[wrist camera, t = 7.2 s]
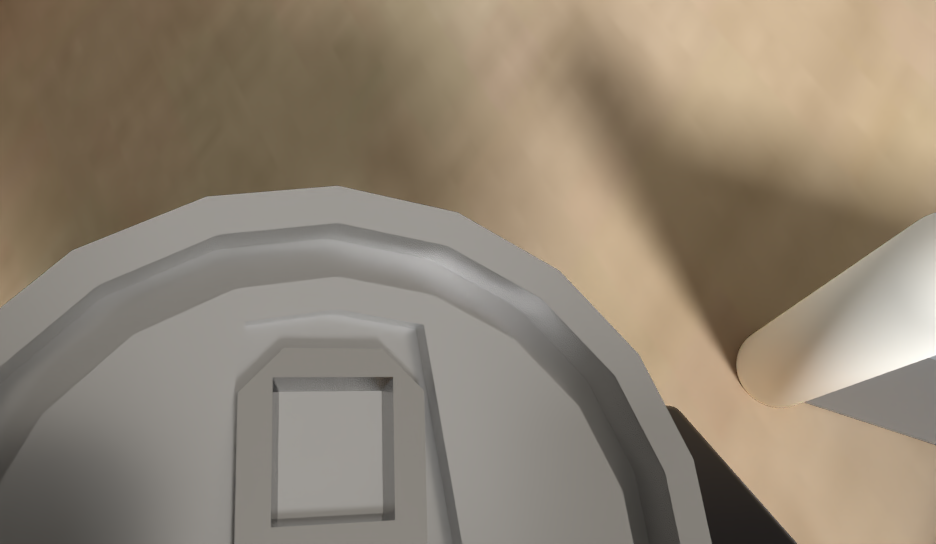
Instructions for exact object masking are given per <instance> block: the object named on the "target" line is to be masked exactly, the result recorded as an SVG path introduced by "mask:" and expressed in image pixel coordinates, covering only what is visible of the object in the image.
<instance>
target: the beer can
mask: <svg viewBox="0 0 936 544" xmlns="http://www.w3.org/2000/svg"><path fill="white" fill-rule="evenodd" d="M0 544H712V542H711V537H710V533H709V528H708V524H707V519H706V514H705V510H704V505H703V501H702V496H701V491H700V487H699V482H698V478H697V473H696V468H695V464H694V459H693V458H692V456H691V454H690V452H689V450H688V448H687V446H686V444H685V442H684V440H683V438H682V436H681V434H680V433H679V431H678V429H677V427H676V425H675V423H674V421H673V419H672V417H671V415H670V413H669V411H668V409H667V408H666V406H665V404H664V402H663V400H662V398H661V396H660V394H659V392H658V390H657V388H656V386H655V384H654V383H653V381H652V379H651V377H650V375H649V373H648V371H647V369H646V367H645V365H644V363H643V361H642V359H641V358H640V356H639V354H638V353H637V352H636V351H635V350H634V349H633V348H632V347H631V346H630V345H629V344H628V343H627V342H626V340H625V339H624V338H623V337H622V336H621V335H620V334H619V333H618V332H617V331H616V330H615V329H614V328H613V327H612V326H611V325H610V324H609V323H608V321H607V320H606V319H605V318H604V317H603V316H602V315H601V314H600V313H599V312H598V311H597V310H596V309H595V308H594V307H593V306H592V305H591V304H590V302H589V301H588V300H587V299H586V298H585V297H584V296H583V295H582V294H581V293H580V292H579V291H578V290H577V289H576V288H575V287H574V286H573V285H572V284H571V282H570V281H569V280H568V279H567V278H566V277H565V276H564V275H563V274H562V273H561V272H560V271H559V270H557V269H556V268H554V267H552V266H550V265H549V264H547V263H545V262H543V261H542V260H540V259H538V258H536V257H535V256H533V255H531V254H529V253H528V252H526V251H524V250H522V249H521V248H519V247H517V246H515V245H514V244H512V243H510V242H508V241H507V240H505V239H503V238H501V237H500V236H498V235H496V234H494V233H493V232H491V231H489V230H487V229H486V228H484V227H482V226H480V225H479V224H477V223H475V222H473V221H472V220H470V219H468V218H466V217H465V216H463V215H461V214H459V213H458V212H453V211H449V210H445V209H440V208H436V207H431V206H427V205H422V204H418V203H413V202H409V201H404V200H400V199H395V198H391V197H386V196H382V195H377V194H373V193H368V192H364V191H359V190H355V189H350V188H346V187H341V186H329V187H316V188H304V189H292V190H280V191H268V192H256V193H244V194H231V195H219V196H207V197H204V198H202V199H199V200H197V201H194V202H192V203H189V204H187V205H184V206H182V207H179V208H177V209H174V210H172V211H169V212H167V213H164V214H162V215H159V216H157V217H154V218H152V219H149V220H147V221H144V222H142V223H139V224H137V225H134V226H132V227H129V228H127V229H124V230H122V231H119V232H117V233H114V234H112V235H109V236H107V237H104V238H102V239H99V240H97V241H94V242H92V243H89V244H87V245H84V246H82V247H79V248H77V249H74V250H72V251H71V252H69V253H68V254H67V255H66V256H64V257H63V258H62V259H61V260H59V261H58V262H57V263H56V264H54V265H53V266H52V267H51V268H49V269H48V270H47V271H46V272H44V273H43V274H42V275H41V276H39V277H38V278H37V279H36V280H34V281H33V282H32V283H31V284H29V285H28V286H27V287H26V288H24V289H23V290H22V291H21V292H19V293H18V294H17V295H16V296H15V297H13V298H12V299H11V300H10V301H8V302H7V303H6V304H5V305H3V306H2V307H1V308H0Z"/></svg>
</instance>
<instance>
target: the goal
mask: <svg viewBox="0 0 936 544" xmlns="http://www.w3.org/2000/svg"><path fill="white" fill-rule="evenodd" d="M736 368H737V374H738V377H739V380H740V382H741V384H742V386H743V388H744V389H745V390H746V392H747V393H748V394H749V395H750V396H751V397H752V398H754V399H755V400H756V401H758V402H760V403H762V404H764V405H766V406H770V407H775V408H787V407H791V406H795V405H797V404H800V403H803V402H805V403H808V404H811V405H814V406H817V407H821V408H824V409H827V410H830V411H833V412H836V413H839V414H842V415H845V416H848V417H851V418H854V419H857V420H860V421H864V422H867V423H870V424H873V425H876V426H879V427H882V428H885V429H888V430H891V431H894V432H897V433H900V434H904V435H907V436H910V437H913V438H916V439H919V440H922V441H925V442H928V443H931V444H934V445H936V213H932V214H930V215H927V216H925V217H923V218H921V219H920V220H918V221H916V222H915V223H914V224H912V225H911V226H909V227H908V228H906V229H905V230H903V231H902V232H900V233H899V234H898V235H896V236H895V237H893V238H892V239H890V240H889V241H887V242H886V243H884V244H883V245H881V246H880V247H879V248H877V249H876V250H874V251H873V252H871V253H870V254H868V255H867V256H865V257H864V258H863V259H861V260H860V261H858V262H857V263H855V264H854V265H852V266H851V267H849V268H848V269H847V270H845V271H844V272H842V273H841V274H839V275H838V276H836V277H835V278H833V279H832V280H830V281H829V282H828V283H826V284H825V285H823V286H822V287H820V288H819V289H817V290H816V291H814V292H813V293H812V294H810V295H809V296H807V297H806V298H804V299H803V300H801V301H800V302H798V303H797V304H796V305H794V306H793V307H791V308H790V309H788V310H787V311H785V312H784V313H782V314H781V315H779V316H778V317H777V318H775V319H774V320H772V321H771V322H769V323H768V324H766V325H765V326H763V327H762V328H761V329H759V330H758V331H756V332H755V333H753V334H752V335H750V336H749V337H748V338H747V339H746V340H745V341H744V342H743V344H742V345H741V347H740V349H739V352H738V355H737V360H736Z"/></svg>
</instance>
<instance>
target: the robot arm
mask: <svg viewBox="0 0 936 544" xmlns="http://www.w3.org/2000/svg"><path fill="white" fill-rule="evenodd" d="M666 408H667V409H668V411H669V413H670V415H671V417H672V419H673V421H674V423H675V425H676V427H677V429H678V431H679V433H680V434H681V436H682V438H683V440H684V442H685V444H686V446H687V448H688V450H689V452H690V454H691V456H692V458H693V459H694V464H695V468H696V473H697V478H698V482H699V487H700V491H701V496H702V501H703V505H704V510H705V514H706V519H707V524H708V528H709V533H710V537H711V542H712V544H797V543H796V542H795V541H794V540H793V538H792V537H791V536H790V535H789V534H788V533H787V532H786V530H785V529H784V528H783V527H782V526H781V525H780V524H779V523H778V521H777V520H776V519H775V518H774V517H773V516H772V515H771V514H770V512H769V511H768V510H767V509H766V508H765V507H764V506H763V504H762V503H761V502H760V501H759V500H758V499H757V498H756V497H755V495H754V494H753V493H752V492H751V491H750V490H749V489H748V488H747V486H746V485H745V484H744V483H743V482H742V481H741V480H740V478H739V477H738V476H737V475H736V474H735V473H734V472H733V471H732V469H731V468H730V467H729V466H728V465H727V464H726V463H725V461H724V460H723V459H722V458H721V457H720V456H719V455H718V454H717V452H716V451H715V450H714V449H713V448H712V447H711V446H710V445H709V443H708V442H707V441H706V440H705V439H704V438H703V437H702V435H701V434H700V433H699V432H698V431H697V430H696V429H695V428H694V426H693V425H692V424H691V423H690V422H689V421H688V420H687V419H686V417H685V416H684V415H683V414H682V413H681V412H680V411H679V410H678V409H677V408H675V407H672V406H666Z"/></svg>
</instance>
